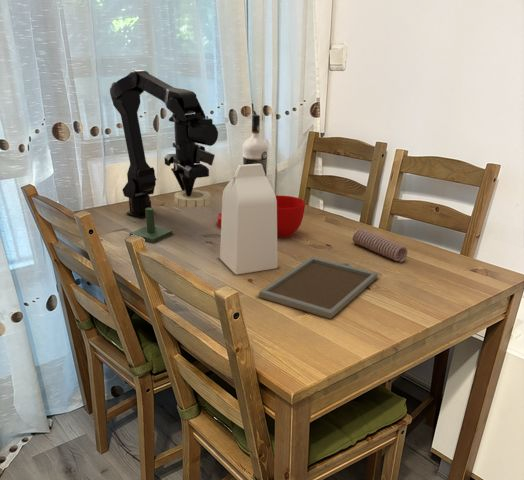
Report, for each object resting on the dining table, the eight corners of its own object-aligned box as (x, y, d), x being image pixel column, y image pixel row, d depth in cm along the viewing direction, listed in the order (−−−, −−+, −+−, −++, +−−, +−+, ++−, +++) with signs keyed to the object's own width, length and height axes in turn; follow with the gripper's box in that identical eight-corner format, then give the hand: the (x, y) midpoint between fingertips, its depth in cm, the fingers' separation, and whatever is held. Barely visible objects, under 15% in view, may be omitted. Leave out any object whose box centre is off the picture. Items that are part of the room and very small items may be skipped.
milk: (236, 274, 144) (236, 172, 130) (219, 258, 153) (219, 161, 139) (277, 268, 148) (282, 168, 135) (259, 253, 157) (262, 158, 144)
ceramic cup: (284, 221, 182) (286, 190, 176) (310, 238, 169) (313, 205, 164) (248, 225, 177) (249, 194, 171) (272, 243, 164) (273, 210, 159)
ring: (167, 203, 161) (167, 195, 160) (189, 195, 169) (188, 187, 168) (197, 210, 157) (196, 202, 156) (217, 201, 165) (217, 193, 164)
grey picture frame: (258, 291, 132) (316, 253, 154) (258, 297, 133) (316, 258, 155) (331, 313, 124) (381, 269, 146) (330, 319, 124) (380, 275, 146)
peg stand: (129, 237, 165) (127, 209, 160) (149, 228, 171) (147, 202, 167) (153, 243, 161) (151, 215, 157) (172, 234, 168) (171, 207, 163)
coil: (410, 246, 153) (364, 227, 166) (399, 247, 151) (353, 228, 163) (406, 262, 156) (360, 242, 168) (395, 263, 153) (350, 243, 165)
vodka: (254, 201, 199) (256, 111, 183) (272, 208, 193) (276, 115, 178) (235, 206, 193) (235, 114, 177) (253, 213, 188) (255, 118, 172)
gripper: (225, 144, 154) (225, 200, 162) (197, 132, 168) (198, 184, 176) (188, 147, 149) (190, 204, 157) (162, 134, 163) (165, 188, 171)
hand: (187, 194), depth 166 cm, fingers closed on ring, 2 cm apart
